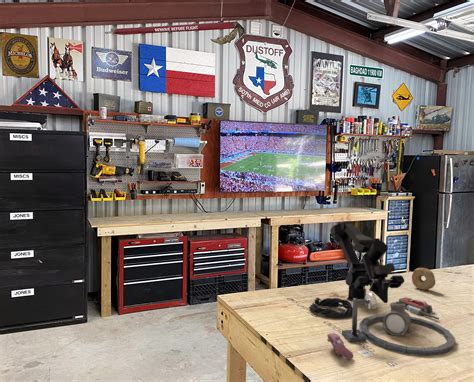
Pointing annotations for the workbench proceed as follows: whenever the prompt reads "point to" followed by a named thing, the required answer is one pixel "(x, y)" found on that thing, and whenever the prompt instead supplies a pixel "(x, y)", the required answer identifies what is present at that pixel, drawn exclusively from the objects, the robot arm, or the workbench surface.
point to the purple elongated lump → (339, 346)
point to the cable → (331, 303)
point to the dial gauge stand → (355, 334)
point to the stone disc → (419, 282)
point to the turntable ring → (405, 349)
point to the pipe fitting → (396, 319)
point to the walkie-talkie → (417, 307)
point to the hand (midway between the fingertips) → (386, 302)
